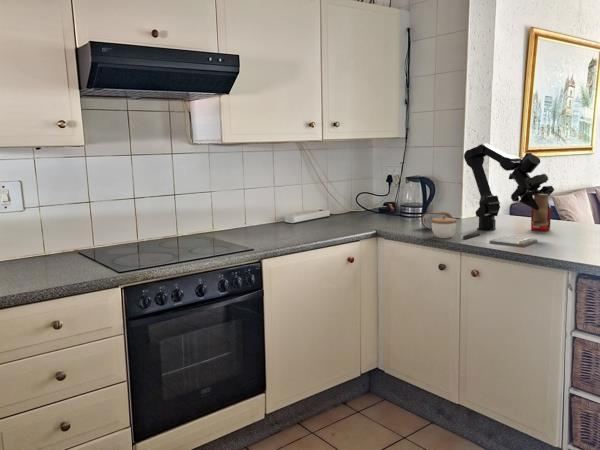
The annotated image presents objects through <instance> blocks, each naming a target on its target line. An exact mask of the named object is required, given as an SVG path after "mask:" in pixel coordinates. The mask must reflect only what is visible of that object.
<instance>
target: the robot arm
mask: <svg viewBox="0 0 600 450" xmlns="http://www.w3.org/2000/svg"><path fill="white" fill-rule="evenodd" d="M486 156H487V157H488V158H490V159H493V160H494V161H495V162H498V163H499V166H500V167H501V168H502V169H503V170H505V171H507V172H508V171H509V172H510V171H512V172H511V173H509V176H508V180H510V181H511V180H513V181H515V183H516V185H517V186H516V189H515V190H514V191H513V193H511V194H510V199H511V201H512V202H513V203H514V202H519V203H522V204H524V205H526V206H528V207H530V208H531V209H532V208H533V209H535V210H539V208H538V205H537V204H536V202H535V200H534V194H548V195H549V196H548V198H549V197H550V196H551V195H552V194H553V192H554V191H555V188H554V187H553V186H552V185H543V184H545V183H547V181H549V176H548V175H547V174H546V173H542V174H535V175H534V176H532V177H531V176H530V175H529V174H532V173H533V171H534V170H535V169H536V168H537V167H538V166H539V165H540V164H541V159H540V157H538V156H536V155H535V154H533V153H532V152H526V153H525V155H524V157H523V158H521V157H520V156H516V155H513V154H507V153H505V152H504V151H502V150H500V149H497V148H496V147H494V146H492V144H490V143H481V144H479V145H478V146H475V147H473V148H470V149H467V150H466V151H465V152H464V154H463V158H464V161H465V162H466V165H467V166H468V167H470V168H471V170H472V173H473V176H474V179H475V182H476V186H477V190H478V193H479V196H480V199H479V202H478V206H479V207H478V208H477V210H476V211H475V216H476V217H478V227H476V229H477V230H481V231H494V230H496V229H497V227H496V219H495V217H498V215H499V211H500V208H501V203H500V202H501V201H500V200H499V196H498V195H494V194H493V193H492V191H491V187H490V184H489V181H488V178H487V175H486V173H485V168H484V166H483V165H484V162H485V157H486ZM542 185H543V186H542ZM540 188H541V189H540ZM549 206H550V204H549V202H548V209H549Z"/></svg>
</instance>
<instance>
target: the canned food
mask: <svg viewBox="0 0 600 450" xmlns="http://www.w3.org/2000/svg"><path fill="white" fill-rule="evenodd" d="M530 211H531V216H530V217H531V219H530V229H531V230H532V231H535V232H549V231H550V229H551V218H552V217H551V216H552V214H551V213H552V207H551V205H549V209H548V213H547V222H548V225H547V226H535V225H532V222H533V215H534V209H533V208H532V207H531V210H530Z"/></svg>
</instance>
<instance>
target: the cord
mask: <svg viewBox="0 0 600 450" xmlns="http://www.w3.org/2000/svg"><path fill="white" fill-rule="evenodd" d="M480 235H481V232H480V231H475V232H472V233H471V232H470V233H468V234H465V235H464V234H463V236H462V239H463V240H467V239H471V238H473V237H474V238H475V237H477V236H480Z"/></svg>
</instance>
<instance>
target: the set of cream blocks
mask: <svg viewBox="0 0 600 450" xmlns="http://www.w3.org/2000/svg"><path fill="white" fill-rule="evenodd" d="M524 238H525V239H522V240H519V243H520V244H524V243H527V242H529V241H531V239H532V238H531V237H524Z"/></svg>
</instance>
